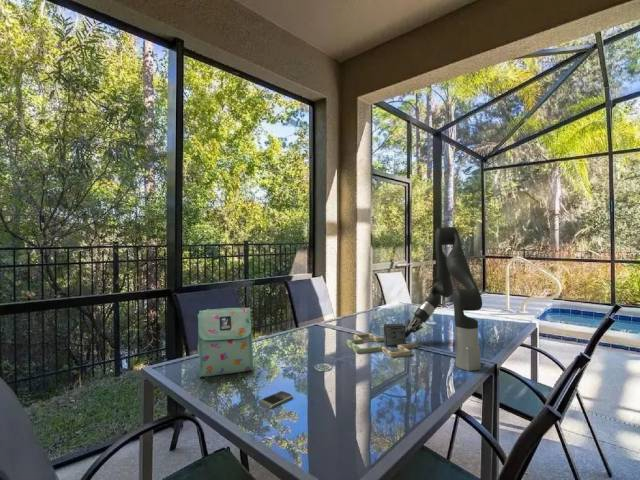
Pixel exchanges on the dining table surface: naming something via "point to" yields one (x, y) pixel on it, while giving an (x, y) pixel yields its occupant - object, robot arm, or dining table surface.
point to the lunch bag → (224, 341)
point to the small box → (394, 334)
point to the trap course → (369, 337)
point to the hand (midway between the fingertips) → (404, 336)
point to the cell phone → (275, 399)
